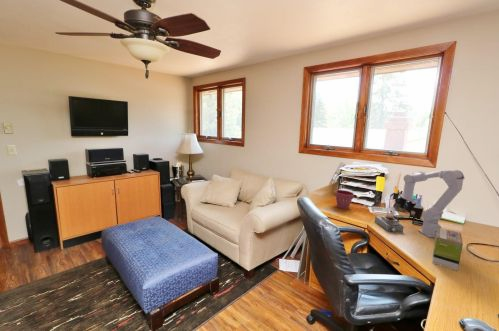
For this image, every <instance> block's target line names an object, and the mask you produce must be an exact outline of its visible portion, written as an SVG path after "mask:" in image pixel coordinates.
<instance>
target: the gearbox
mask: <svg viewBox="0 0 499 331" xmlns="http://www.w3.org/2000/svg"><path fill="white" fill-rule="evenodd" d="M386 218H387V215H386V216H385V215H384V216H382V215H381V216H379V215H378V216H376V215H375V216H374V222H375V223H376V224H378V226H380V227H381V228H382V229H383V230H385V231H386V232H390V233H391V232H392V233H394V232H396V233H403V232H404V225H403V224H401V223H399V221H398V220H397V219H396V218H393V220H387V219H386Z"/></svg>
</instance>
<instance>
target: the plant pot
mask: <svg viewBox="0 0 499 331" xmlns="http://www.w3.org/2000/svg"><path fill="white" fill-rule="evenodd" d="M334 194H335V198H336V199H335V200H336V206H337V207H338V208H339V209H343V210H347V209H349V208H350V206H351V203H352V200H353V199H354V196H355V195H354V192H353V191H352V192H351V191H350V190H344V189H343V190H342V189H338V190H335V193H334Z"/></svg>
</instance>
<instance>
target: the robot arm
mask: <svg viewBox="0 0 499 331" xmlns="http://www.w3.org/2000/svg"><path fill="white" fill-rule="evenodd" d="M431 178H440V179H442V180H443V181H444V183H445V184H446V185H447V187H448V188H446V190H445V191H444V193H443V194H441V196H440V197H439V198H438V199H437V201H436V202H435V203H434V204H433V205H432V206H431V207H429V208H427V210H425V211H424V210H423V212H422V215H421V217H422V219H423V222H422V228H421V229H418V232H420V233H422V234H423V235H425V236H426V237H428V238H434V239H435V238H436V232H437V228H442V226H441V225H440V224H439V220H441V219H442V217H443V214H444V210H445V209H446V207H448V206H449V204H450V203H451V202H452V201H453V200H454V199H455V197H456V196H458V194H459V193H461V191H462V189H463V182H464V180H465V175H464V174H463V171H461V170H458V169H453V170H438V171H432V172H428V173H426V172H424V171H418V172H416V173H411V174H405V175H404V176H403V181H404V186H403V193H401V194H399V197H398V198H397V199H398V203H399V208H400V209H404V208H405V206H406V205H407V206H406V209H407V210H406V212H408V213H409V212H411V211H412V209H413V207H414V206H415V205H417V200H415V199H414V197H413V196H414V191H415V190H414V189H415V185H416V183H420V182H425V181H427V180H428V179H431Z"/></svg>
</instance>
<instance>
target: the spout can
mask: <svg viewBox="0 0 499 331" xmlns="http://www.w3.org/2000/svg"><path fill="white" fill-rule="evenodd" d="M386 212H387V213H386V216H387V218H386V219H387V220H393V218H394V217H395V212H394V211H393V210H387V211H386Z"/></svg>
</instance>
